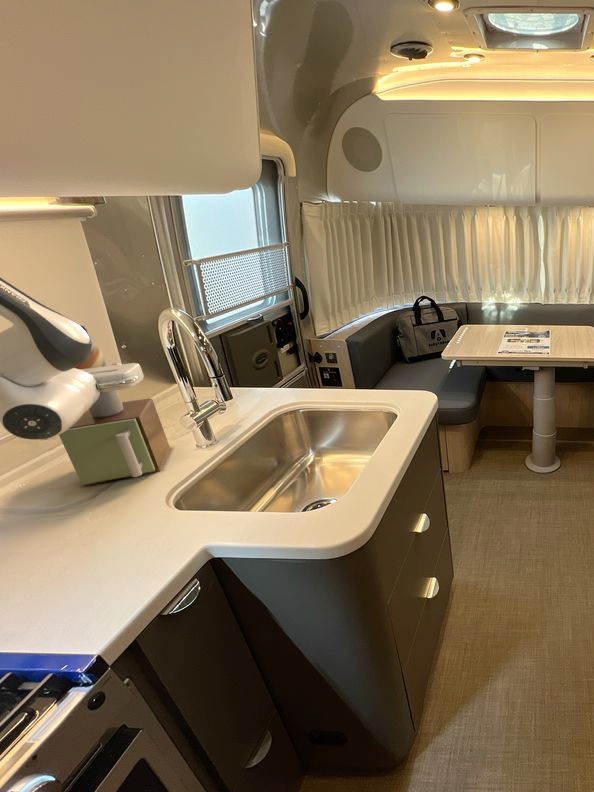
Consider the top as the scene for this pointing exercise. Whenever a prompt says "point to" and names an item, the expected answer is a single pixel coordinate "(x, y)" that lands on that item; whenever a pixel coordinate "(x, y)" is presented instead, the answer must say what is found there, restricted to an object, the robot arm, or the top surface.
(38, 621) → the top surface
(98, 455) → the door
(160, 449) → the cabinet
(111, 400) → the lotion bottle
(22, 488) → the top surface
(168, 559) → the top surface
